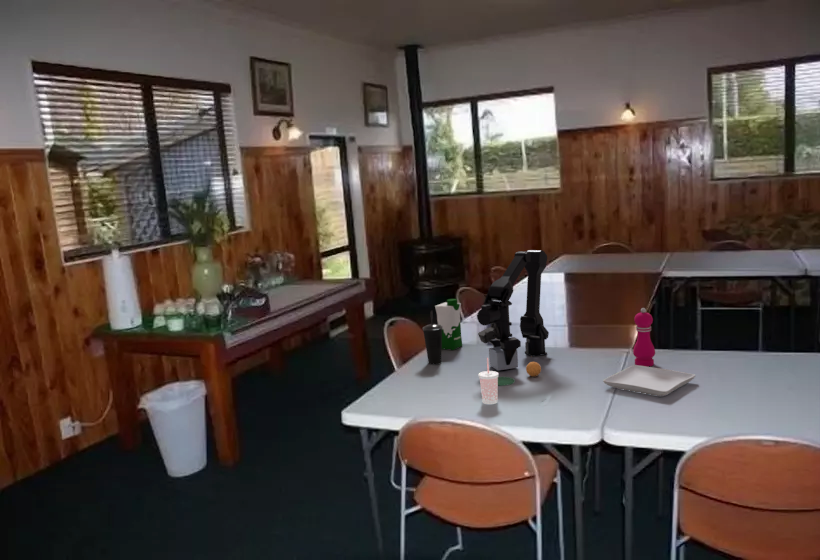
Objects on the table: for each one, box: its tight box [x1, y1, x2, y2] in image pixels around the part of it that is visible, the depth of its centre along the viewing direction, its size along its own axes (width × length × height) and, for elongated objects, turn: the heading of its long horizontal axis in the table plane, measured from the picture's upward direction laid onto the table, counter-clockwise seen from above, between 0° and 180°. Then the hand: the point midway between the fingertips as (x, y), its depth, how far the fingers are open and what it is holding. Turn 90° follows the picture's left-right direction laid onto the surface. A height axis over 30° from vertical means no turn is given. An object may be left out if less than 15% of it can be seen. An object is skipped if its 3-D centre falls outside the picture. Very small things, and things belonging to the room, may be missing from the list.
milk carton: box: [434, 298, 463, 351], centre depth 274 cm, size 9×9×20 cm
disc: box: [498, 376, 516, 387], centre depth 226 cm, size 9×9×1 cm
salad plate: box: [602, 364, 696, 397], centre depth 211 cm, size 21×21×3 cm
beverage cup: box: [477, 357, 499, 405], centre depth 206 cm, size 6×6×14 cm
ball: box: [525, 361, 542, 377], centre depth 229 cm, size 5×5×5 cm
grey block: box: [488, 346, 519, 371], centre depth 241 cm, size 8×8×6 cm
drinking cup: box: [422, 310, 443, 365], centre depth 253 cm, size 8×8×20 cm
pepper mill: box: [632, 307, 656, 367], centre depth 232 cm, size 7×7×20 cm
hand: (503, 362), depth 241 cm, fingers closed on grey block, 8 cm apart
